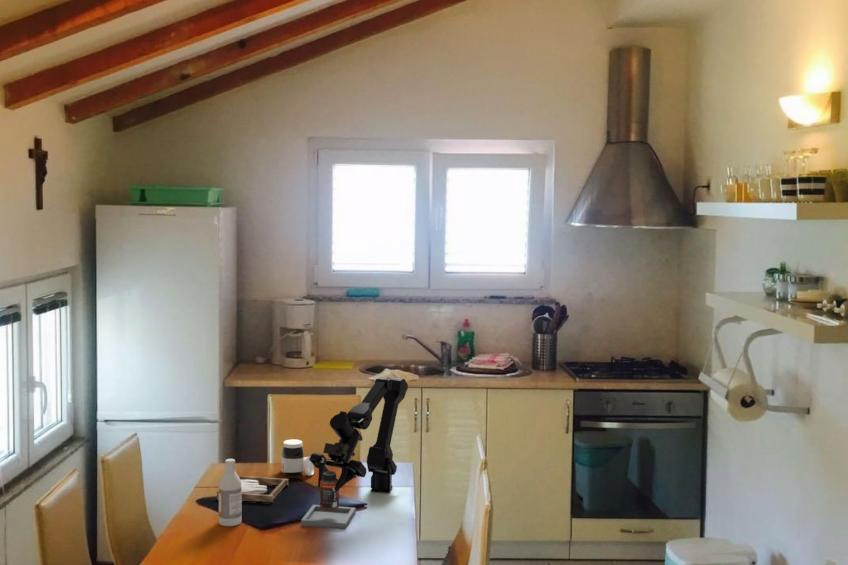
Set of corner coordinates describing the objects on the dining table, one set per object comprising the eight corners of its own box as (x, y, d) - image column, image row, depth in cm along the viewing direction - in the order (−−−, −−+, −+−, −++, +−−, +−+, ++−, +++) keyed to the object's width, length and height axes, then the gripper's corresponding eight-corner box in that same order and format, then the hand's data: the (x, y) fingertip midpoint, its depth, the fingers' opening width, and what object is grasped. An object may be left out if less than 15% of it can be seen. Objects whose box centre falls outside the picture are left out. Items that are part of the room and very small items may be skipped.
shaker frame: (288, 486, 321) (288, 479, 321) (272, 503, 303) (272, 496, 303) (235, 482, 323) (235, 475, 323) (217, 499, 306) (217, 492, 305)
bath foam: (217, 519, 288) (217, 457, 286) (240, 518, 290) (240, 455, 288) (219, 528, 281) (219, 464, 279) (242, 525, 283) (242, 462, 281)
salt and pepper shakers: (237, 502, 305) (270, 498, 309) (237, 489, 304) (270, 486, 309) (229, 490, 316) (261, 487, 320) (229, 478, 315) (261, 475, 320)
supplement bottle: (340, 510, 288) (340, 475, 287) (321, 512, 286) (321, 476, 285) (337, 503, 294) (337, 469, 292) (318, 505, 292) (318, 470, 291)
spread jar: (280, 469, 339) (280, 438, 337) (310, 467, 342) (310, 436, 341) (285, 480, 327) (285, 448, 326) (316, 477, 331) (317, 446, 329)
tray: (355, 513, 296) (355, 507, 296) (345, 529, 282) (345, 523, 282) (313, 510, 298) (313, 504, 298) (301, 525, 284) (301, 520, 284)
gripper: (312, 428, 295) (291, 471, 287) (362, 436, 286) (342, 481, 278) (326, 445, 303) (306, 488, 295) (375, 454, 294) (356, 498, 286)
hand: (327, 488), depth 288 cm, fingers closed on supplement bottle, 6 cm apart
